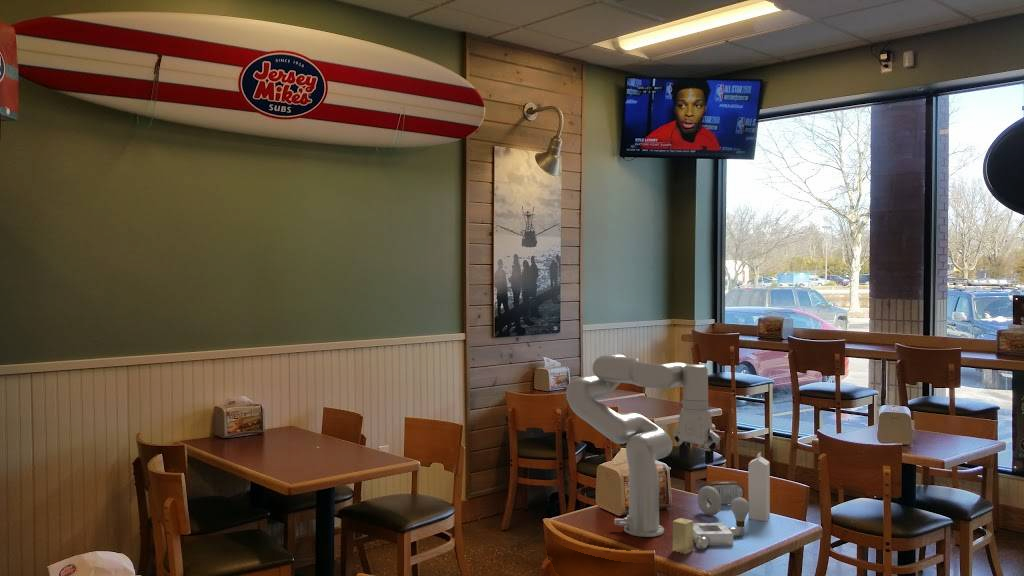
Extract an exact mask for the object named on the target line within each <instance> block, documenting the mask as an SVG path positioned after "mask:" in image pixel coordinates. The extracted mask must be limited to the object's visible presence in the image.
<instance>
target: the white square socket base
mask: <svg viewBox="0 0 1024 576" xmlns="http://www.w3.org/2000/svg"><path fill="white" fill-rule="evenodd" d="M728 528H729V527H727V526H726V524H724V523H723V522H695V523H694V522H693V540H694V541H693V543H695V544H696V542H697V541H698V540H699V539H700V538H701V537H702V536H708V537H709V538H710V540H711V541H710V543H709V545H708V546H734V537H733V533H732V532H731V531H730V530H729V529H728Z"/></svg>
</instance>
